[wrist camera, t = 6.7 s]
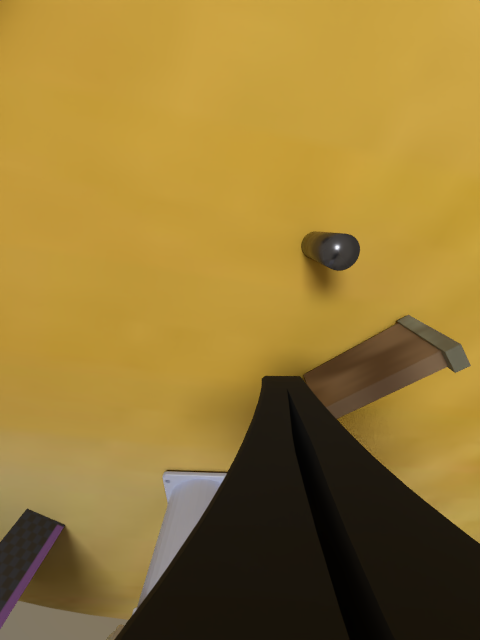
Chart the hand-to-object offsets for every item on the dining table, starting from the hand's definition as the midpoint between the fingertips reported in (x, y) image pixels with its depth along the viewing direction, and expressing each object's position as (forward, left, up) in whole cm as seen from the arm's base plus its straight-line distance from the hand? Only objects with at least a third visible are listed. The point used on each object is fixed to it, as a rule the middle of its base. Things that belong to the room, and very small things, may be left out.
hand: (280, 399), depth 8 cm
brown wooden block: (-3, -7, -9) cm, 12 cm away
